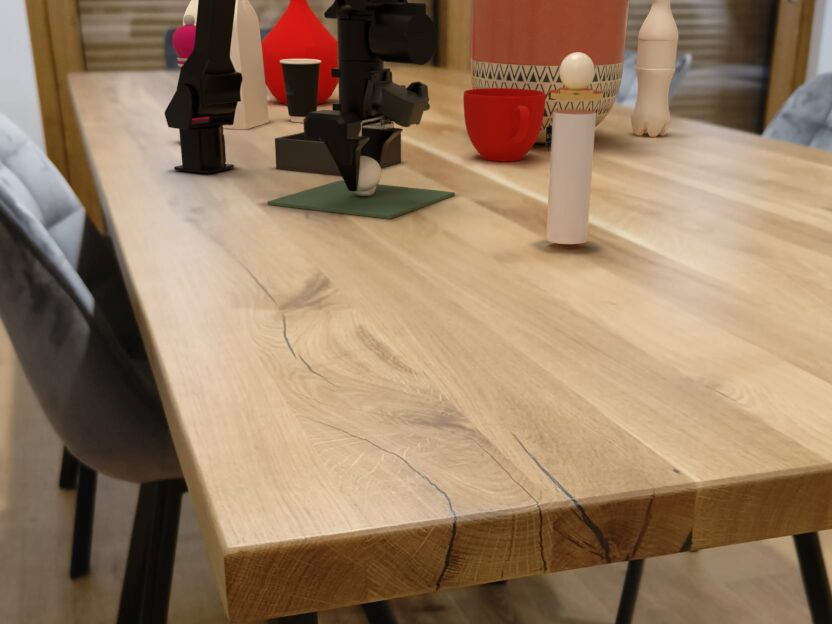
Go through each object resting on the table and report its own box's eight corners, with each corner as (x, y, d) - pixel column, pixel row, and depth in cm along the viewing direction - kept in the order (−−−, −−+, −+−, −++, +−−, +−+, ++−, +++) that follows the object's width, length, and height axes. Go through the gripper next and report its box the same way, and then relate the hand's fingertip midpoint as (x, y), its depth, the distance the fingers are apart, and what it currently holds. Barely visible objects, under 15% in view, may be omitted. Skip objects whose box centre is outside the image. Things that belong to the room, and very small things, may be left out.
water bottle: (624, 135, 204) (636, -15, 193) (636, 131, 210) (649, -15, 199) (661, 138, 201) (676, -14, 190) (673, 134, 207) (688, -14, 196)
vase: (246, 105, 240) (237, -50, 227) (281, 96, 256) (274, -49, 242) (325, 109, 235) (320, -49, 222) (356, 100, 251) (353, -48, 238)
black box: (351, 176, 162) (350, 145, 160) (276, 168, 167) (274, 138, 165) (401, 162, 174) (401, 132, 172) (329, 155, 179) (328, 126, 177)
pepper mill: (210, 146, 186) (201, 16, 177) (170, 144, 187) (158, 15, 179) (226, 140, 193) (218, 14, 184) (187, 138, 194) (177, 13, 185)
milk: (186, 126, 208) (173, -28, 196) (211, 119, 218) (201, -28, 206) (246, 129, 205) (236, -27, 194) (269, 121, 215) (261, -27, 204)
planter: (510, 127, 213) (516, -30, 201) (641, 138, 201) (655, -27, 189) (439, 143, 192) (441, -30, 181) (580, 157, 180) (592, -27, 168)
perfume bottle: (602, 246, 124) (616, 52, 115) (573, 254, 120) (586, 55, 111) (559, 238, 127) (570, 49, 118) (530, 246, 123) (539, 51, 114)
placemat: (390, 219, 135) (390, 215, 135) (267, 204, 142) (267, 201, 142) (454, 195, 150) (455, 192, 150) (340, 183, 157) (340, 180, 157)
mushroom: (388, 197, 145) (388, 157, 143) (355, 200, 143) (354, 160, 141) (371, 190, 149) (370, 152, 147) (338, 193, 147) (337, 154, 144)
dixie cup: (330, 119, 220) (328, 59, 215) (310, 124, 213) (308, 62, 208) (295, 117, 222) (292, 58, 218) (274, 121, 216) (271, 60, 211)
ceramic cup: (483, 170, 168) (485, 100, 164) (452, 153, 183) (453, 88, 178) (563, 167, 171) (567, 98, 167) (526, 151, 186) (529, 87, 181)
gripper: (380, 68, 128) (381, 206, 135) (451, 58, 143) (449, 182, 150) (298, 63, 132) (303, 197, 139) (376, 54, 147) (377, 175, 154)
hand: (362, 187), depth 145 cm, fingers closed on mushroom, 5 cm apart
